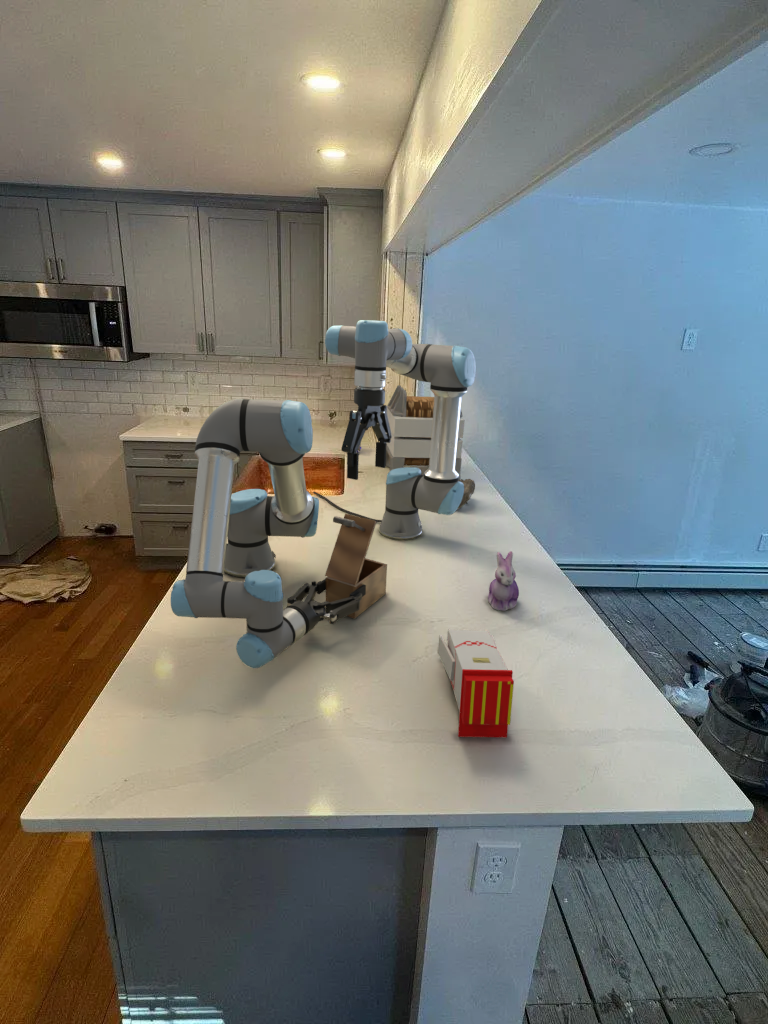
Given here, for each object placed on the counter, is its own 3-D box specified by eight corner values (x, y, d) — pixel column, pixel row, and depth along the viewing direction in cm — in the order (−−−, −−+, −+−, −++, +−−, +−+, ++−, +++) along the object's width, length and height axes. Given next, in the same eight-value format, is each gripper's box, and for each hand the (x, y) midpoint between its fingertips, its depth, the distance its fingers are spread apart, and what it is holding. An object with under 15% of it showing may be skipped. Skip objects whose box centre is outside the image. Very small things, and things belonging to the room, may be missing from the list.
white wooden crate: (382, 463, 289) (386, 382, 275) (445, 464, 293) (451, 384, 279) (390, 482, 257) (394, 392, 243) (460, 483, 261) (468, 394, 247)
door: (346, 514, 148) (331, 505, 140) (376, 521, 144) (362, 512, 136) (326, 576, 146) (309, 570, 138) (356, 585, 141) (340, 580, 134)
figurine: (500, 615, 149) (507, 563, 144) (477, 598, 157) (483, 548, 152) (528, 608, 153) (536, 557, 148) (504, 591, 161) (510, 543, 156)
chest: (358, 585, 162) (358, 556, 159) (385, 593, 158) (387, 564, 154) (325, 608, 148) (325, 577, 145) (354, 618, 144) (355, 587, 141)
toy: (488, 613, 130) (523, 677, 101) (484, 667, 133) (517, 744, 104) (435, 612, 130) (455, 676, 101) (432, 666, 133) (451, 743, 103)
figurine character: (361, 457, 304) (361, 447, 317) (361, 444, 301) (362, 434, 314) (348, 456, 304) (349, 447, 317) (348, 443, 300) (349, 434, 314)
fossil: (439, 484, 243) (468, 465, 238) (451, 501, 246) (481, 483, 241) (438, 506, 224) (470, 486, 219) (452, 524, 226) (484, 505, 221)
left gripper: (257, 622, 135) (314, 586, 153) (333, 651, 125) (384, 608, 143) (256, 594, 132) (314, 561, 151) (334, 621, 122) (385, 582, 141)
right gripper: (355, 394, 125) (352, 487, 132) (407, 384, 145) (402, 464, 152) (327, 391, 128) (326, 481, 135) (381, 381, 148) (378, 460, 156)
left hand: (348, 584), depth 147 cm, fingers closed on chest, 9 cm apart
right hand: (366, 472), depth 144 cm, fingers open, 13 cm apart
